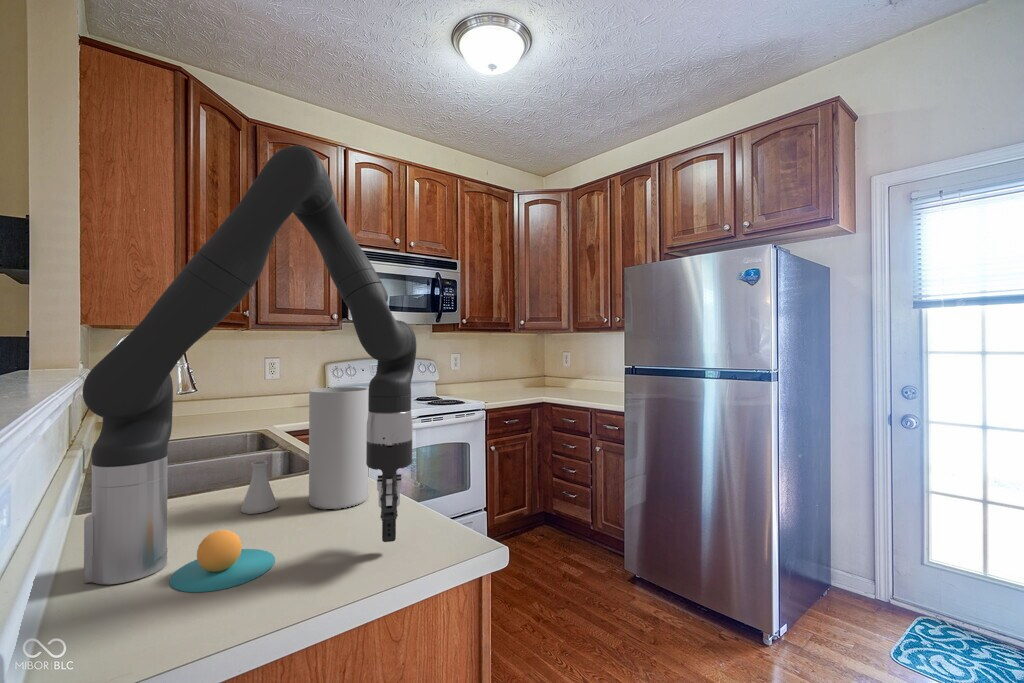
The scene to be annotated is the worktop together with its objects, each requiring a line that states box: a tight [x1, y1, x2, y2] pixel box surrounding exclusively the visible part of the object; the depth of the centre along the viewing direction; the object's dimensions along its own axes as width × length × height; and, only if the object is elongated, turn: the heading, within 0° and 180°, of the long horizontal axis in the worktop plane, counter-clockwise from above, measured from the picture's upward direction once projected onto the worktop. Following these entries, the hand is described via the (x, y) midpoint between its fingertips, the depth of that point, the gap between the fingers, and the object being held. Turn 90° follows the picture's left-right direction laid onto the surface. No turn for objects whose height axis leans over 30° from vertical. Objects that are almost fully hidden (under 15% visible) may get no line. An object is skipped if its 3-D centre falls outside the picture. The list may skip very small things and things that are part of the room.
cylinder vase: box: [308, 386, 369, 510], centre depth 108 cm, size 12×12×25 cm
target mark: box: [169, 548, 276, 593], centre depth 75 cm, size 14×14×1 cm
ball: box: [196, 529, 243, 572], centre depth 75 cm, size 6×6×6 cm
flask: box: [240, 460, 279, 515], centre depth 103 cm, size 7×7×10 cm
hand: (388, 540), depth 81 cm, fingers closed
